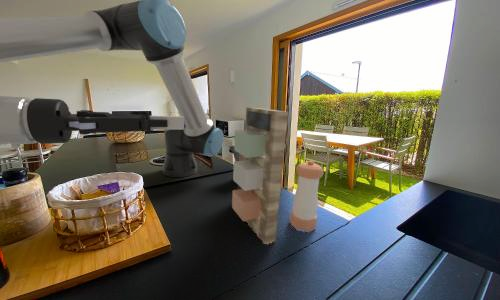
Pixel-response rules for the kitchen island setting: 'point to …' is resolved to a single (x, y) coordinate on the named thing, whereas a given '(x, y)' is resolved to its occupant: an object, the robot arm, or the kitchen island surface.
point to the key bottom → (246, 204)
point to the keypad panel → (268, 167)
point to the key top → (250, 143)
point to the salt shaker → (306, 196)
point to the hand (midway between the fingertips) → (183, 122)
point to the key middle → (248, 174)
